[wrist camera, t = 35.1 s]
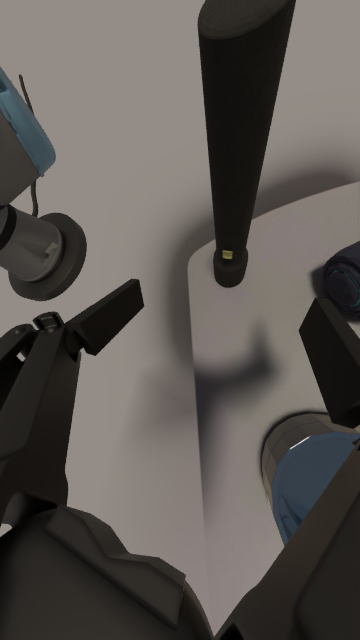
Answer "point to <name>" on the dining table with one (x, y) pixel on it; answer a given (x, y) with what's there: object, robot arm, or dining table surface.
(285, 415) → the dining table surface
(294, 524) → the bowl
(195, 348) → the dining table surface
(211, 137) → the flashlight
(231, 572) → the dining table surface
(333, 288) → the portable speaker
